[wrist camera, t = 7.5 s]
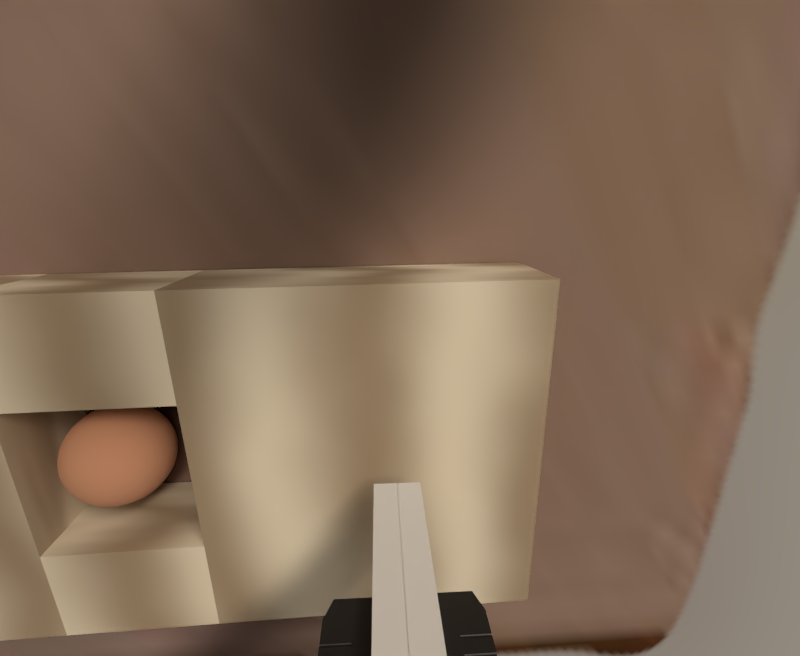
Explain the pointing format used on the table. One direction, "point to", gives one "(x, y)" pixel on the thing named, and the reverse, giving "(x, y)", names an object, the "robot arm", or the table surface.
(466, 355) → the block
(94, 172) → the table surface
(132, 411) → the ball
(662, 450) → the table surface
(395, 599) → the robot arm
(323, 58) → the table surface
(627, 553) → the table surface
